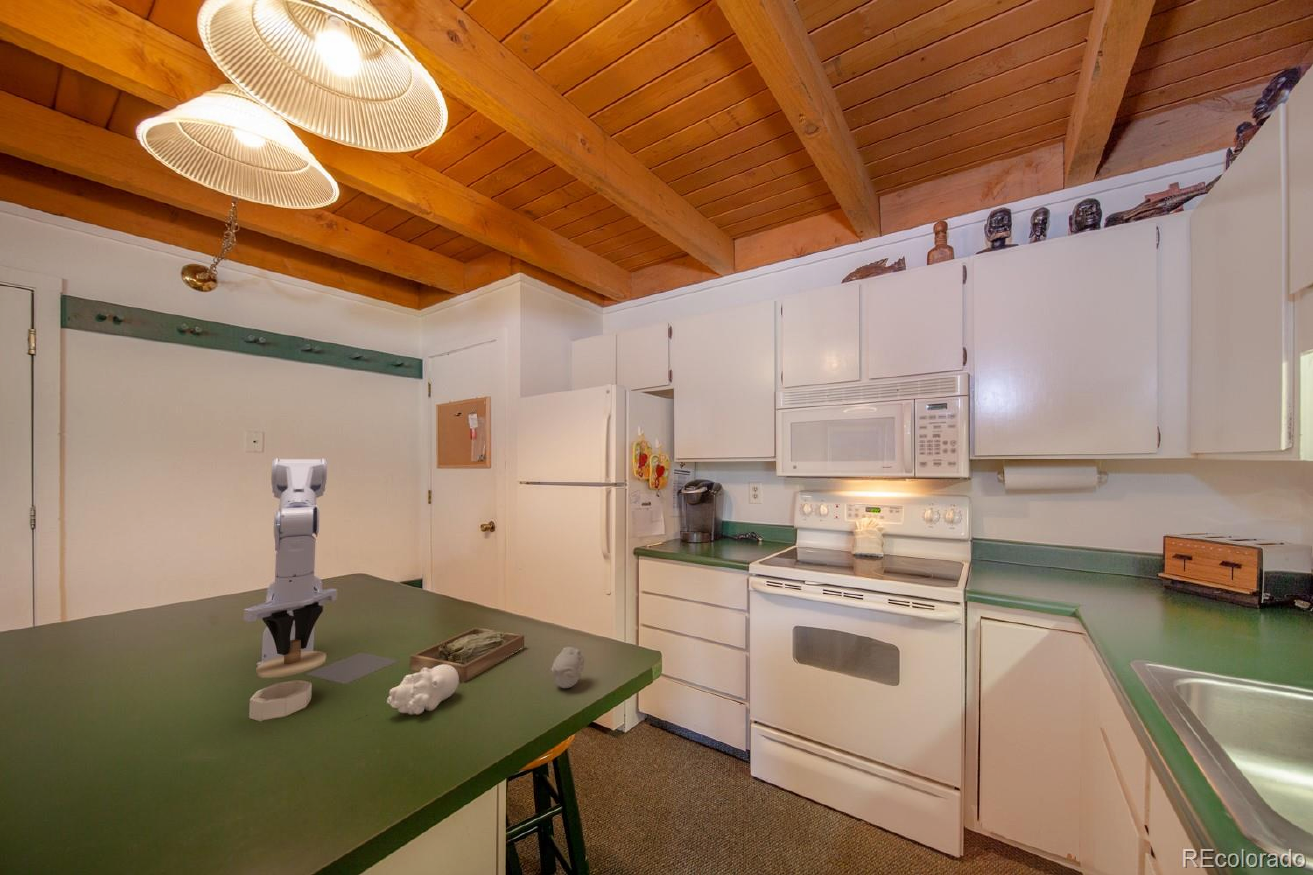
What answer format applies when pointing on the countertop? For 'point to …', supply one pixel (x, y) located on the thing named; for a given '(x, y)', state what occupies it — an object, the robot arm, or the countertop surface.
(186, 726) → the countertop surface
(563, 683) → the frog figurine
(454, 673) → the figurine
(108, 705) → the countertop surface
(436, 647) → the frame
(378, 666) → the mat
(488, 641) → the dried leaf bundle
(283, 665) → the lid
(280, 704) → the bowl
